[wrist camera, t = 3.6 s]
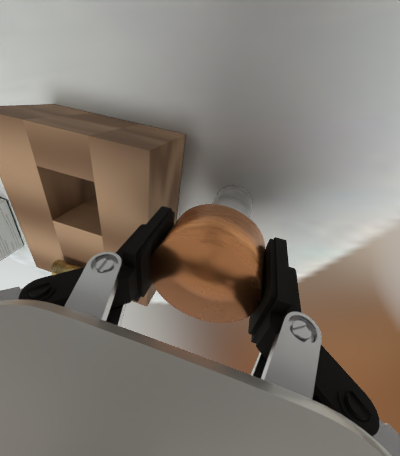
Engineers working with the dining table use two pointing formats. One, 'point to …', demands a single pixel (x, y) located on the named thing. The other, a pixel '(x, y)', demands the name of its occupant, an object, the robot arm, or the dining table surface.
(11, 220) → the skincare box
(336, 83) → the dining table surface
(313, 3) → the dining table surface
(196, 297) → the orange-brown domed cylinder
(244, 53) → the dining table surface
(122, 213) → the block
